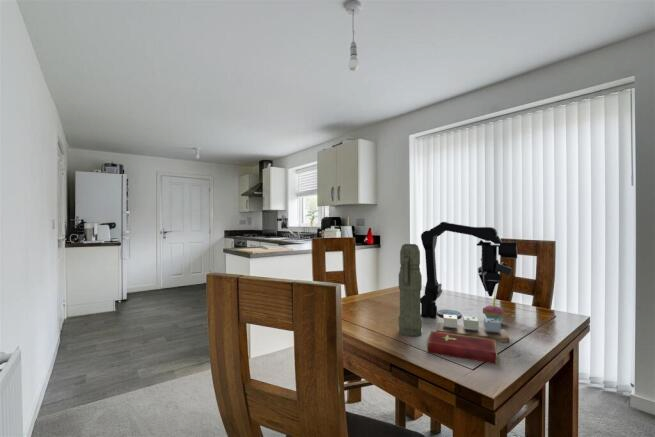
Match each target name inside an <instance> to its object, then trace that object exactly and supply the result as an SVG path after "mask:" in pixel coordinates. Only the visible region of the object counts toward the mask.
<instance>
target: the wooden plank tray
mask: <svg viewBox="0 0 655 437" xmlns="http://www.w3.org/2000/svg"><path fill="white" fill-rule="evenodd" d="M436 332H442V333H449V334H456V335H463V336H470V337H478V338H485V339H492V340H495V342H501V343H510V340H511V339H510V337H509V334H508V333H507V332H506V329H503V328H502V329H501V331H492V330H486V329H485V327H482V326H480V327H479V329H473V328H464V324H457V327H455V326H445V325H444V322H437V324H436Z"/></svg>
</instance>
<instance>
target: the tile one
mask: <svg viewBox="0 0 655 437" xmlns="http://www.w3.org/2000/svg"><path fill="white" fill-rule="evenodd" d="M443 323H444V325H445V326H455V327H457V325H458V316H457V315H456V314H447V313H444V314H443Z"/></svg>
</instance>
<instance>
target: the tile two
mask: <svg viewBox="0 0 655 437" xmlns="http://www.w3.org/2000/svg"><path fill="white" fill-rule="evenodd" d="M462 325H464V328H473V329H479V325H480V324H479V319H478V317H477V316H476V317H475V316H466V315H465V316H464V315H463V324H462Z"/></svg>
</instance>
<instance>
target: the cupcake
mask: <svg viewBox="0 0 655 437" xmlns="http://www.w3.org/2000/svg"><path fill="white" fill-rule="evenodd" d="M492 300H493V305H491V304H490V305H486V306H485V307H483V308H482V314H484V315H485V318H489V319H498V320H499V321H500V322H501V320H502V319H503V317H504V316H505V310H504V309H502V308H501V307H500V306H496V296H495V295H494V297H493V299H492Z"/></svg>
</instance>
